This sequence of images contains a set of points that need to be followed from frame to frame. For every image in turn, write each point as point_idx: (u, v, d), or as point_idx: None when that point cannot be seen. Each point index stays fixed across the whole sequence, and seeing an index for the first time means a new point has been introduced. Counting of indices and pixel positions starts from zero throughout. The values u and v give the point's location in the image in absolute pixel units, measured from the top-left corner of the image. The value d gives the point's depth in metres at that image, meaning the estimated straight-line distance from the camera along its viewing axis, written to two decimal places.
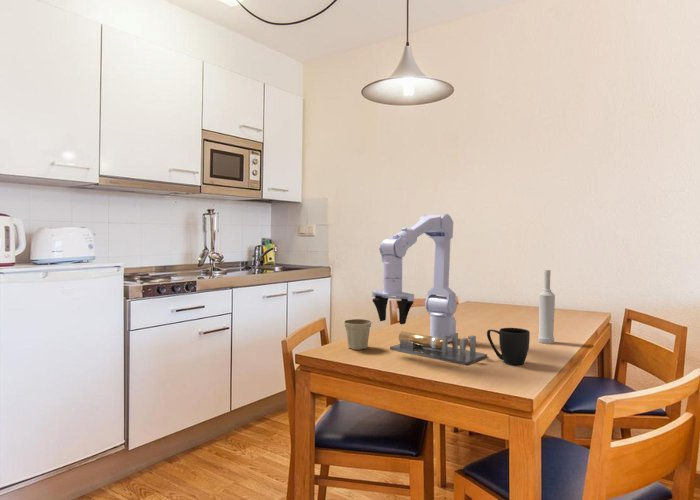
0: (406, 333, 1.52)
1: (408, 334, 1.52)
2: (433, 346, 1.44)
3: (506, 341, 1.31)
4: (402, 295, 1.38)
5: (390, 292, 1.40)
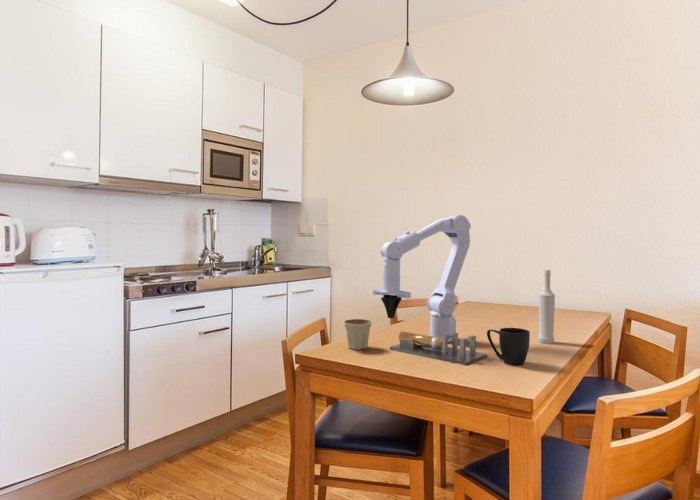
0: (406, 333, 1.52)
1: (408, 334, 1.52)
2: (433, 346, 1.44)
3: (506, 341, 1.31)
4: (400, 293, 1.53)
5: (389, 290, 1.54)
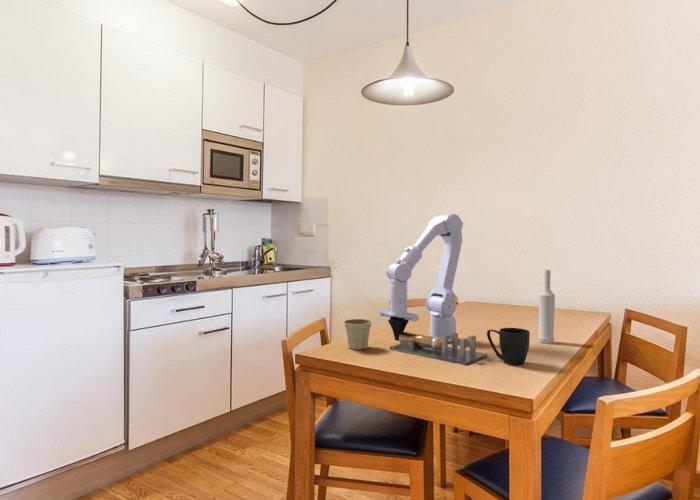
0: (406, 333, 1.52)
1: (408, 334, 1.52)
2: (433, 346, 1.44)
3: (506, 341, 1.31)
4: (407, 316, 1.51)
5: (396, 313, 1.52)
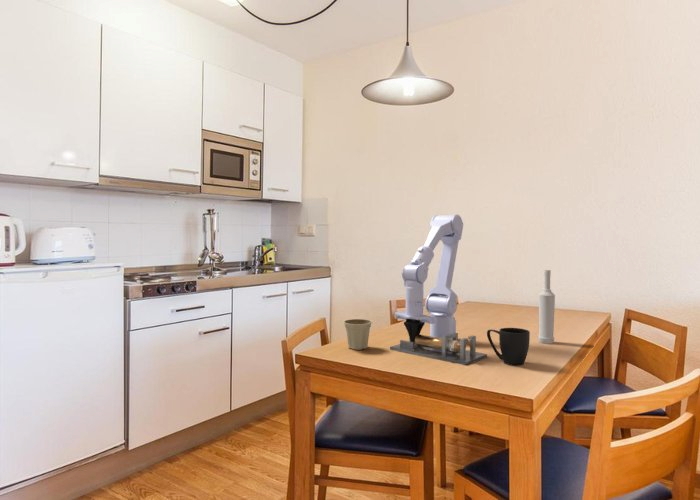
0: (422, 336, 1.48)
1: (425, 336, 1.47)
2: (451, 349, 1.40)
3: (506, 341, 1.31)
4: (424, 318, 1.47)
5: (412, 315, 1.48)
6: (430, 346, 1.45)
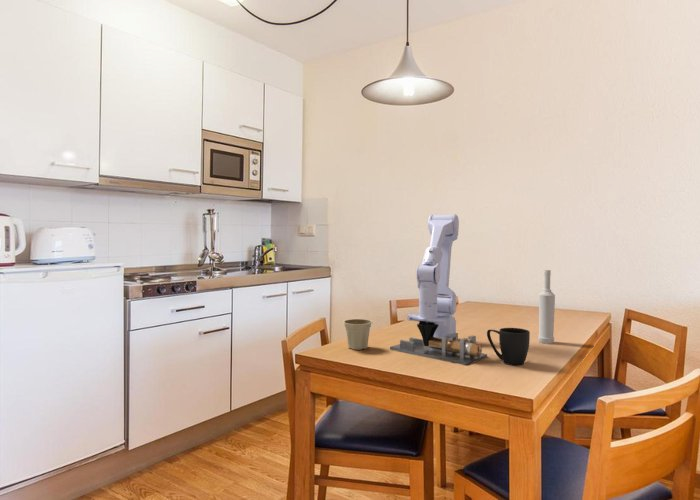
0: (437, 338, 1.45)
1: (439, 339, 1.44)
2: (467, 352, 1.37)
3: (506, 341, 1.31)
4: (438, 320, 1.43)
5: (426, 317, 1.45)
6: None
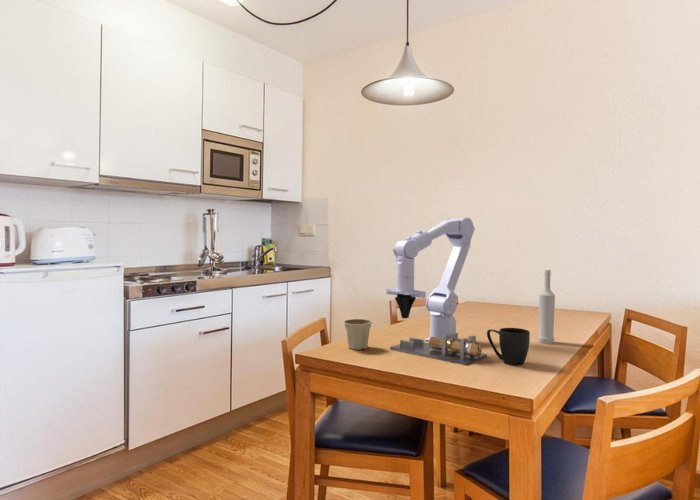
0: (437, 338, 1.45)
1: (439, 339, 1.44)
2: (467, 352, 1.37)
3: (506, 341, 1.31)
4: (414, 293, 1.49)
5: (403, 290, 1.51)
6: None
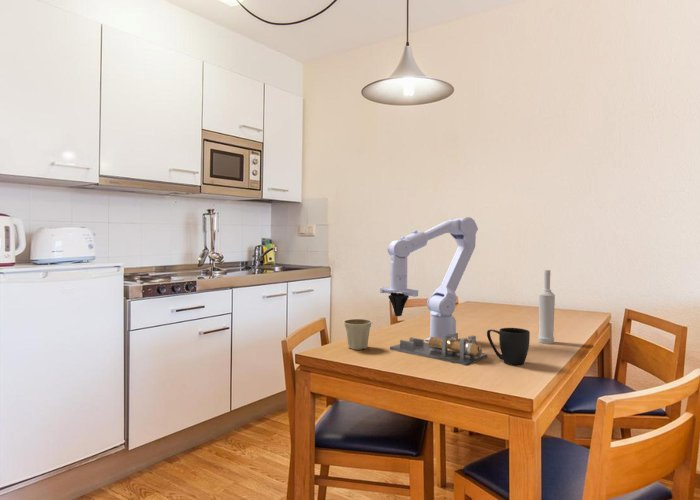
0: (437, 338, 1.45)
1: (439, 339, 1.44)
2: (467, 352, 1.37)
3: (506, 341, 1.31)
4: (407, 291, 1.53)
5: (396, 288, 1.55)
6: None
